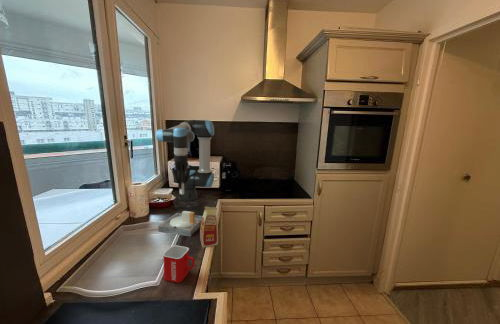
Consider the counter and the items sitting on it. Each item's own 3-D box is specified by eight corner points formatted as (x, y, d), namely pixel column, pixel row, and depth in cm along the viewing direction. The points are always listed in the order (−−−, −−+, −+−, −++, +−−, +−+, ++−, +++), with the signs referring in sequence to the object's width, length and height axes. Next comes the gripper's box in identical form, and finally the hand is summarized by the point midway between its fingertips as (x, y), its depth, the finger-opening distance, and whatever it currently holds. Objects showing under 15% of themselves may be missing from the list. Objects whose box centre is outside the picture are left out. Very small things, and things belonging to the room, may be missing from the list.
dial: (164, 226, 126) (164, 214, 124) (178, 216, 140) (178, 205, 139) (188, 230, 122) (188, 218, 121) (200, 219, 137) (200, 208, 136)
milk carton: (202, 247, 110) (202, 210, 106) (199, 238, 118) (199, 204, 115) (220, 244, 113) (220, 208, 110) (215, 236, 122) (216, 202, 118)
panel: (176, 217, 143) (176, 212, 142) (205, 221, 139) (205, 215, 139) (158, 231, 124) (158, 225, 123) (190, 236, 120) (190, 230, 119)
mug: (161, 280, 86) (160, 255, 84) (173, 267, 94) (173, 244, 92) (189, 286, 83) (188, 261, 82) (198, 272, 91) (198, 249, 90)
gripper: (174, 156, 117) (175, 197, 122) (194, 154, 127) (194, 192, 131) (167, 154, 122) (168, 194, 127) (187, 152, 132) (187, 189, 136)
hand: (181, 193), depth 129 cm, fingers closed
